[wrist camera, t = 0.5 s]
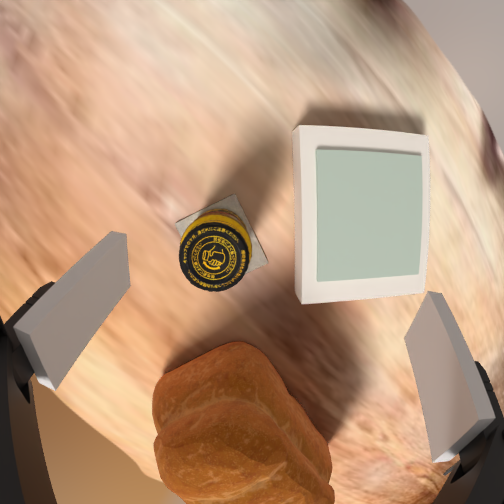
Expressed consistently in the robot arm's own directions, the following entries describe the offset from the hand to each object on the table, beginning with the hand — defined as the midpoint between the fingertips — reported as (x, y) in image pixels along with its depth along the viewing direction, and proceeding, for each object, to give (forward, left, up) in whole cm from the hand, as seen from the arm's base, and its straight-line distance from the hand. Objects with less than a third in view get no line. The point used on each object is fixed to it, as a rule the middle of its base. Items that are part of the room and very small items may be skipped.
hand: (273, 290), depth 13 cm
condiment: (+2, -3, -23) cm, 23 cm away
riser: (-1, +13, -22) cm, 26 cm away
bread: (+27, -1, -23) cm, 35 cm away
